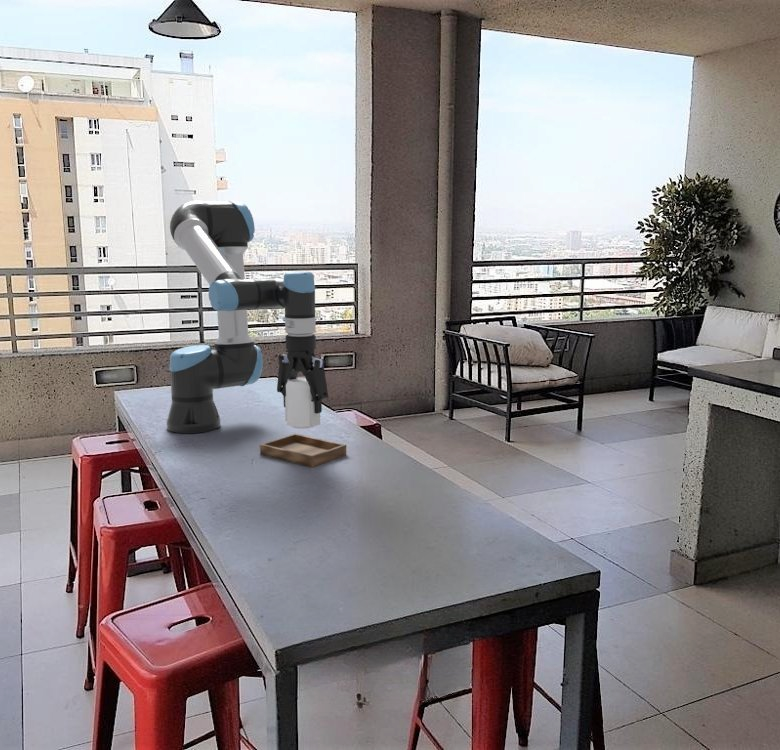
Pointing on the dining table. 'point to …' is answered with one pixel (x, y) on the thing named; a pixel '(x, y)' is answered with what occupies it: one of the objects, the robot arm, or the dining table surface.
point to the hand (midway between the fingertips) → (302, 422)
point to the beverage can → (298, 403)
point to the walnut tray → (303, 450)
